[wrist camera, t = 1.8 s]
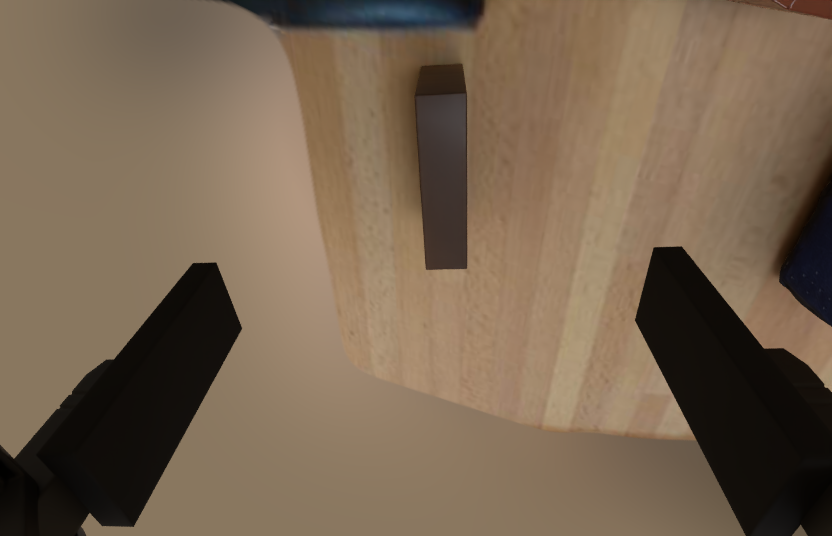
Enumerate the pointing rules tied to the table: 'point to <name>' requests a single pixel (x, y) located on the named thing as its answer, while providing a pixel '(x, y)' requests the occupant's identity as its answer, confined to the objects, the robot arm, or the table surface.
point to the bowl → (795, 6)
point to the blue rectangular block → (813, 262)
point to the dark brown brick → (443, 164)
